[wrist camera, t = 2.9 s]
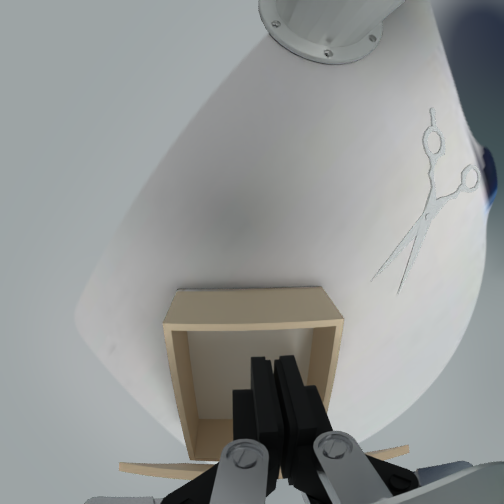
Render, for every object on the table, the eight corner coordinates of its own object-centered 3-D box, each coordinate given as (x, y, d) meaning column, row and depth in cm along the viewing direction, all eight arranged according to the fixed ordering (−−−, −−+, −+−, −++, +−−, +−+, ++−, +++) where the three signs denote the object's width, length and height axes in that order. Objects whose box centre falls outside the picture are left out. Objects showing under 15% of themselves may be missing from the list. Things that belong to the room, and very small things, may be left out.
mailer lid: (119, 462, 11) (119, 470, 11) (408, 444, 12) (409, 452, 12) (185, 463, 26) (185, 467, 26) (321, 457, 27) (321, 461, 27)
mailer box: (177, 288, 29) (162, 323, 22) (321, 286, 29) (344, 318, 23) (195, 418, 33) (190, 460, 26) (305, 414, 34) (316, 454, 27)
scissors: (487, 164, 26) (415, 309, 30) (483, 164, 27) (412, 306, 31) (431, 106, 25) (348, 269, 29) (427, 107, 25) (345, 267, 29)
